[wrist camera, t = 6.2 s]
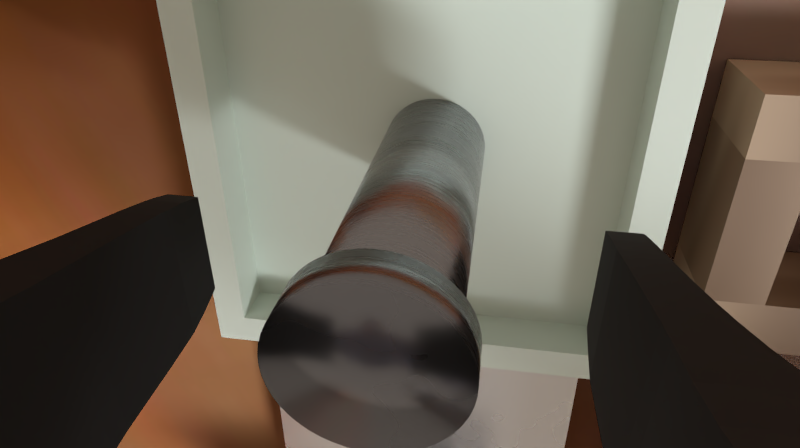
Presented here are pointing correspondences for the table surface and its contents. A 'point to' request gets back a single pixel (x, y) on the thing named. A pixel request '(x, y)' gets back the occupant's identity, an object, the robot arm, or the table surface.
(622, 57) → the tray
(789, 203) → the socket
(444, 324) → the pin
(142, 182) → the table surface
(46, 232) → the table surface
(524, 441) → the trolley wheel
